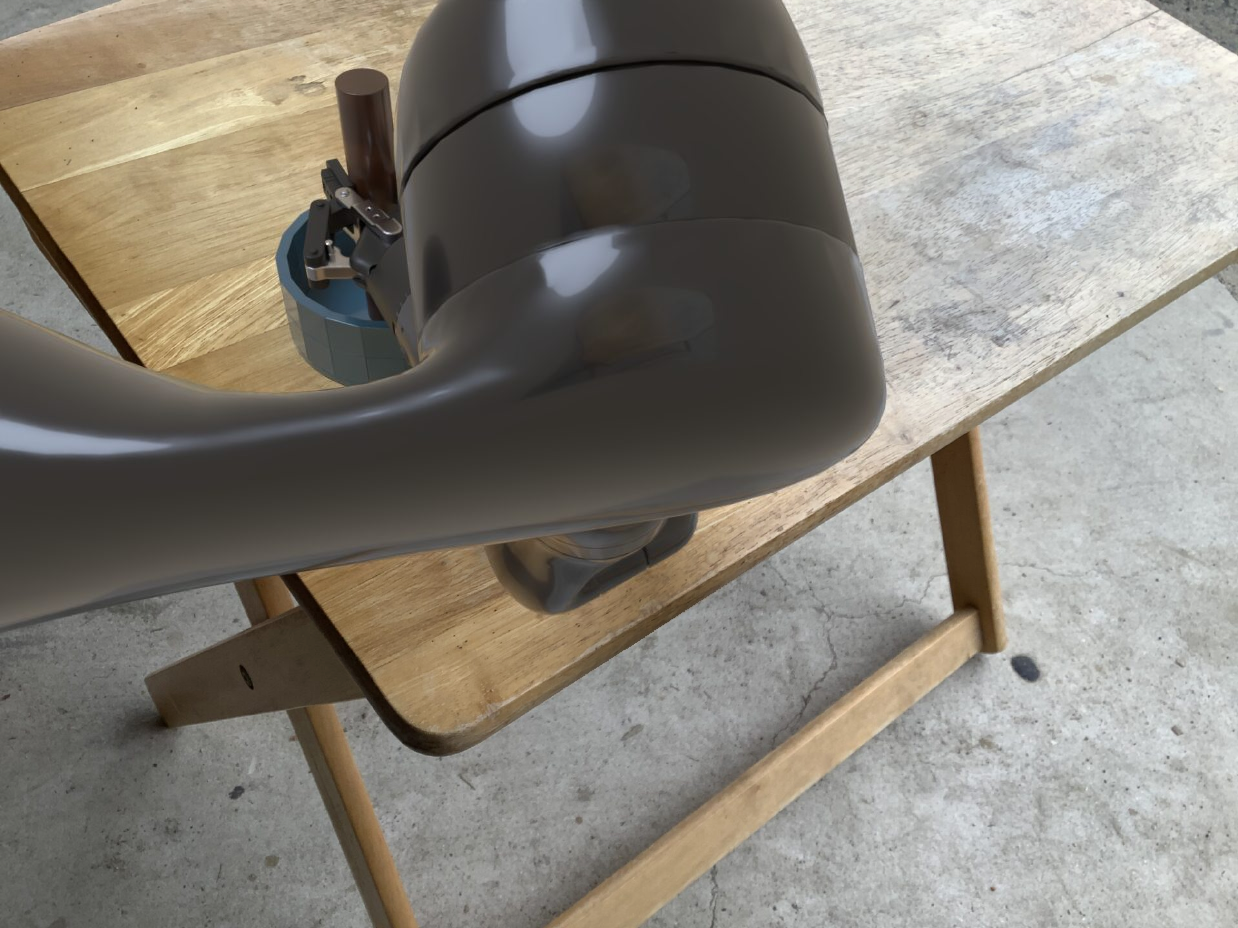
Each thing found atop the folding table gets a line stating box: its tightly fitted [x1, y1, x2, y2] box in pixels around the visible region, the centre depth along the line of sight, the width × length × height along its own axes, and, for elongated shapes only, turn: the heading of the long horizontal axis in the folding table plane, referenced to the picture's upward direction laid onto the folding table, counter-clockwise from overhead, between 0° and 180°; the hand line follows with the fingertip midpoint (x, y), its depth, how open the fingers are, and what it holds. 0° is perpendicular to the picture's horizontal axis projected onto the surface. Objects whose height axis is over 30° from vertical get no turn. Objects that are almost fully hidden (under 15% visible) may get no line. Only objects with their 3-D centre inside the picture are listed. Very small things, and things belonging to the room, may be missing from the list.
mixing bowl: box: [274, 197, 412, 386], centre depth 79 cm, size 17×17×6 cm
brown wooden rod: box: [334, 67, 400, 321], centre depth 72 cm, size 3×3×18 cm
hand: (360, 165), depth 73 cm, fingers closed on brown wooden rod, 3 cm apart
